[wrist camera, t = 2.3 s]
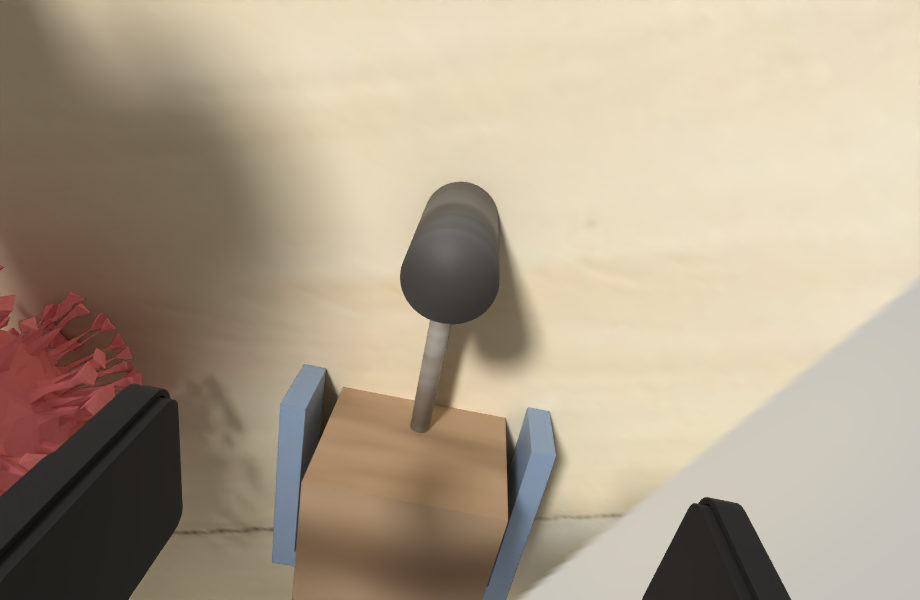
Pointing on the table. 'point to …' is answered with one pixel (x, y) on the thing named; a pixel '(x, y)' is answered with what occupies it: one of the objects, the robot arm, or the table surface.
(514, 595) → the table surface
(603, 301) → the table surface
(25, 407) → the virus model
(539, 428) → the blue-grey u-shaped piece
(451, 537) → the tether block
